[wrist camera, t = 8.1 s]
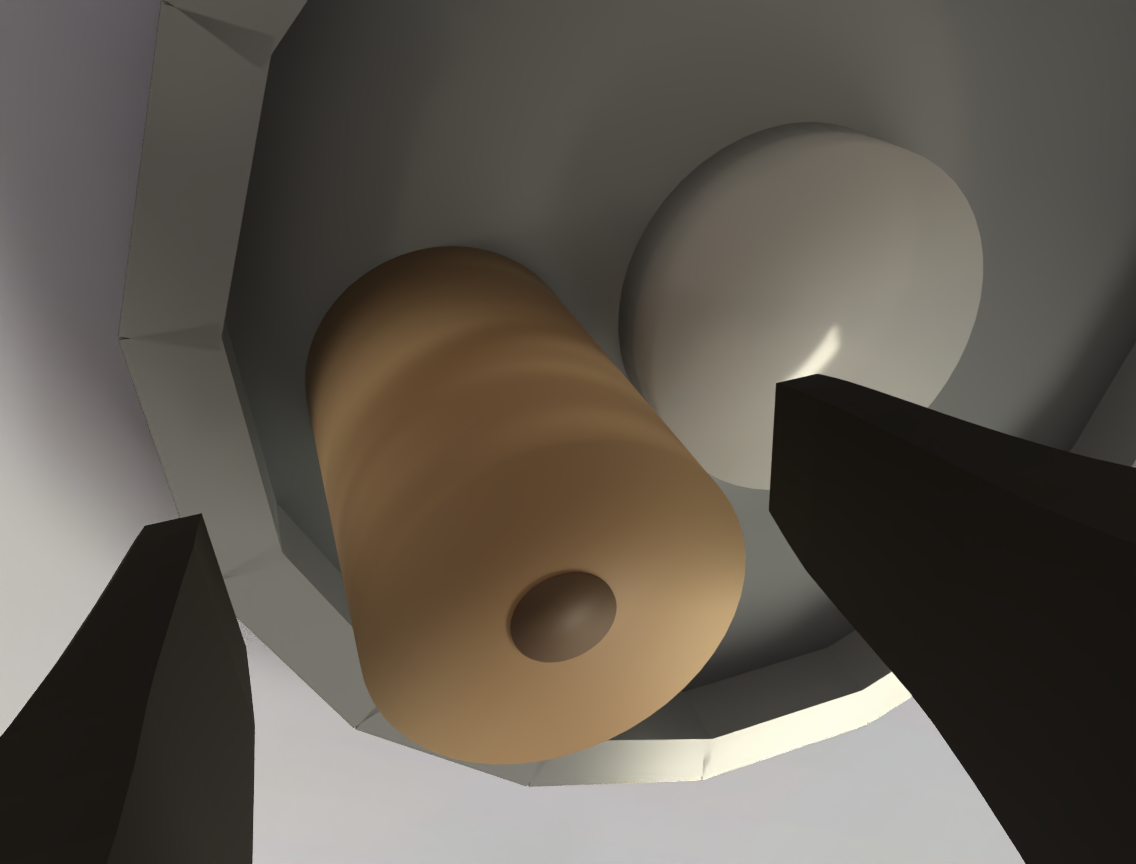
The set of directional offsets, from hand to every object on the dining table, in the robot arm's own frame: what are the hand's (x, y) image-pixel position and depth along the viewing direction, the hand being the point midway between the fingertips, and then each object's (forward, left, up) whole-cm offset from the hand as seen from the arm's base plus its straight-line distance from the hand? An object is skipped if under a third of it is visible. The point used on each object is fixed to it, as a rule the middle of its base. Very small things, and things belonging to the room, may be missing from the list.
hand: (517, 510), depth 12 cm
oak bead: (0, 0, -4) cm, 4 cm away
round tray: (-6, 0, -5) cm, 8 cm away
